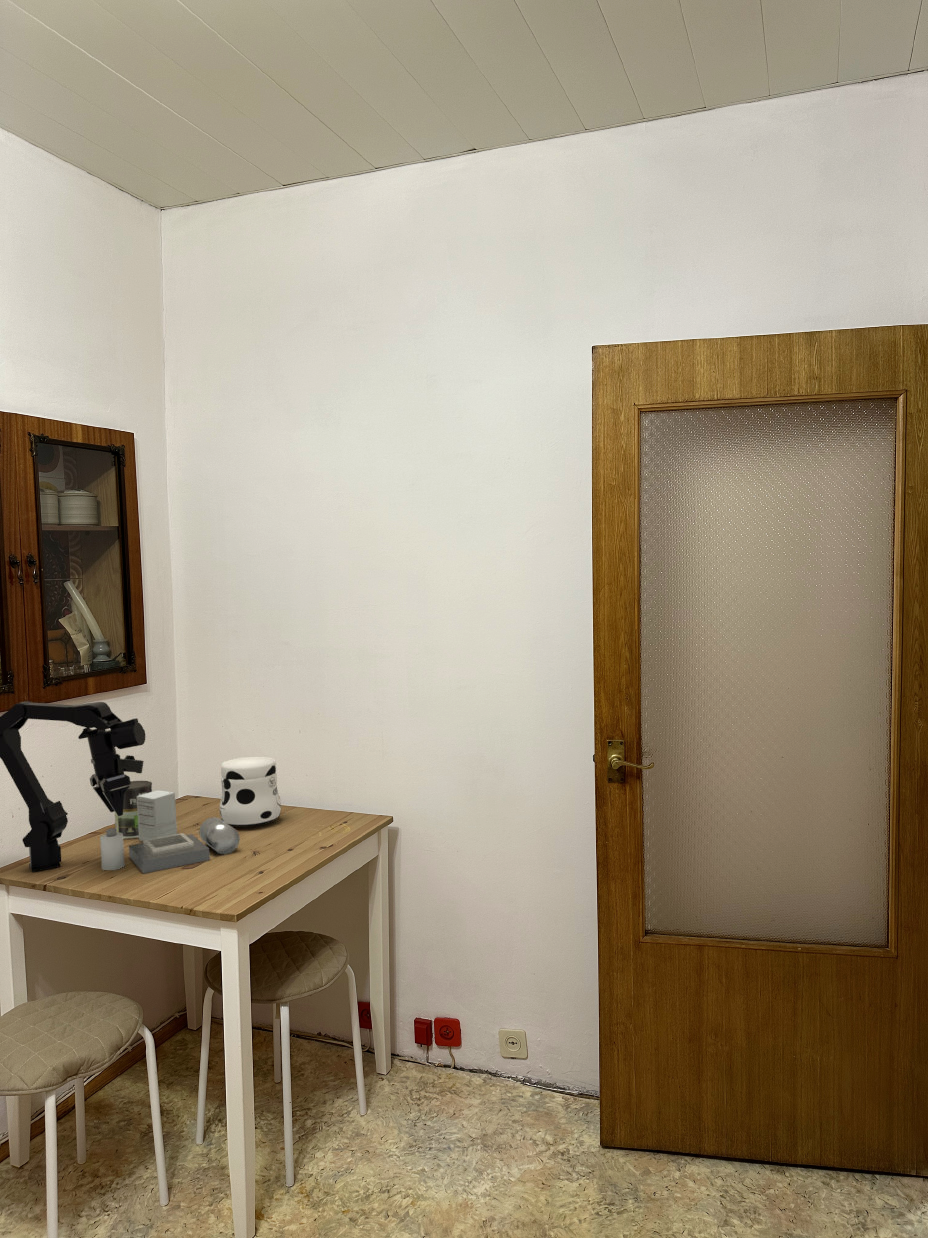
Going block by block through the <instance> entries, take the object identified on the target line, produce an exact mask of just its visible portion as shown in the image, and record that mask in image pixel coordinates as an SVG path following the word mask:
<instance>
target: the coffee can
mask: <svg viewBox="0 0 928 1238" xmlns="http://www.w3.org/2000/svg"><path fill="white" fill-rule="evenodd" d="M130 782H131V784H130V787H129V788H128V789H127V790H126V792H125V793H124V803H123V815H122V816H118V815H117V814H116V812H115V811H114V828H116V830H117V832H118V833H123V840H128V839H130V840H131V839H139V830H138V812H137V796H139V795H143V794H146V793H150V792H153V788H152V787H153V786H152V785H153V782H152V781H149V780H132V781H131V780H130Z"/></svg>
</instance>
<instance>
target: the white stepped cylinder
mask: <svg viewBox="0 0 928 1238" xmlns="http://www.w3.org/2000/svg"><path fill="white" fill-rule="evenodd" d="M99 839H100V840H99V841H100V854H101V855H100V857H101V870H102V869H103V870H102V871H104V870H113V871H117V869H118V870H121V869H123V868H124V867H125V852H124V851H125V849H124V839H123V833H118V832H117V830H116V828H115V827H113V828H108V829H106V830H105V834H102V835H100V837H99ZM122 867H123V868H122ZM120 868H121V869H120Z"/></svg>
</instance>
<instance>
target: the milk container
mask: <svg viewBox="0 0 928 1238" xmlns="http://www.w3.org/2000/svg"><path fill="white" fill-rule="evenodd" d="M220 765H221V766H220V776H221V778H220V780H221V782H220V783H221V797H220V801H219V816H220V819H221V820H222V821H224V822H225V823H227V824H228V825H230V826H231V827H233V828H234V827H235V828H236V827H237V828H252V827H259V826H264V825H267V824H271V823H273V822H274V821H276V820H277V819H278V818H279V816H280V814H281V810H282V808H281V807H282V802H281V796H280V795H279V790H278V786H277V779H278V777H277V763H276V759H275V758H274V757H270V756H245V757H236V758H232V759H228V760H225V761H222V763H221V764H220Z"/></svg>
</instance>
